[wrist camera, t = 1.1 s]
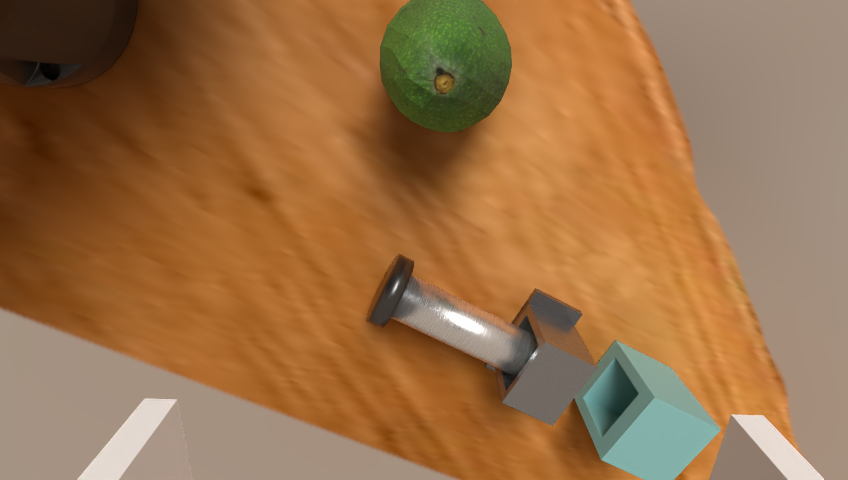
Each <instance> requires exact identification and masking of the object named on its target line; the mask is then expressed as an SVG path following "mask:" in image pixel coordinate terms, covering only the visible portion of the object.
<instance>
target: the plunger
mask: <svg viewBox="0 0 848 480" xmlns="http://www.w3.org/2000/svg"><path fill="white" fill-rule="evenodd" d="M413 267H414V261H413V260H411V259H409V258H407V257H405V256H403V255H400V254H398V255H397V256H396V258H395V259H394V260H393V262H392V264H391V265H390V267H389V269H388V270H387V272H386V274H385V276H384V278H383V280H382V282H381V284H380V286H379V288H378V290H377V292H376V294H375V297H374V299H373V301H372V304H371V306H370V309H369V311H368V314H367V318H366V321H367V322H369V323H371V324H373V325H375V326H377V327H379V328H383V327H384V326H385V325H386V324H387V322H388V321H389V320H390V318H392V319H394V320H397V321H399V322H401V323H403V324H405V325H407V326H409V327H411V328H413V329H416V330H418V331H420V332H422V333H424V334H426V335H428V336H430V337H433V338H435V339H437V340H439V341H441V342H443V343H445V344H447V345H450V346H452V347H454V348H456V349H458V350H460V351H462V352H464V353H466V354H469V355H471V356H473V357H475V358H477V359H479V360H481V361H483V362H486V363H488V364H490V365H492V366H494V367H496V368H498V369H500V370H503V371H505V372H507V373H509V374H511V375H513V376H515V377H517V375H518V374H519V373H520V371H521V370H522V368H523V367H524V366H525V364H526V363H527V361H528V360H529V359H530V357H531V356H532V354H533V353H534V352H535V350H536V349H537V347H538V346H539V345H538V342H537V340H536V337H535V335H534V334H532V333H530V332H528V331H526V330H523V329H521V328H519V327H517V326H515V325H513V324H511V323H509V322H507V321H505V320H503V319H501V318H499V317H497V316H495V315H493V314H491V313H489V312H487V311H485V310H483V309H481V308H479V307H477V306H475V305H472V304H470V303H468V302H466V301H464V300H462V299H460V298H458V297H456V296H454V295H452V294H450V293H448V292H446V291H444V290H442V289H440V288H438V287H436V286H434V285H432V284H430V283H428V282H426V281H424V280H421V279H419V278H417V277H415V276H413V275H411V274H412V271H413Z"/></svg>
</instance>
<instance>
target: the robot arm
mask: <svg viewBox="0 0 848 480" xmlns="http://www.w3.org/2000/svg"><path fill="white" fill-rule="evenodd" d="M136 12H137V0H0V83H1V84H6V85H10V86H17V87H23V88H59V87H69V86H74V85H78V84H82V83H85V82H87V81H89V80H92V79H94V78H95V77H97V76H99V75H100V74H102V73H103V72H105V71H106V70H107V69H108V68H109V67H110V66H111V65H112V64H113V63H114V62H115V61H116V60H117V59H118V57H119V56H120V55H121V53H122V52H123V50H124V49H125V47H126V45H127V43H128V41H129V38H130V36H131V33H132V30H133V27H134V23H135V18H136ZM77 480H193V475H192V470H191V465H190V460H189V455H188V450H187V445H186V440H185V435H184V430H183V425H182V420H181V415H180V410H179V406H178V400H176V399H144V400H143V401H142V403H141V404H140V405H139V406H138V407H137V408H136V410H135V411H134V412H133V413H132V414H131V416H130V417H129V418H128V419H127V420H126V422H125V423H124V424H123V425H122V426H121V428H120V429H119V430H118V431H117V432H116V434H115V435H114V436H113V437H112V438H111V440H110V441H109V442H108V443H107V445H106V446H105V447H104V448H103V449H102V450H101V452H100V453H99V454H98V456H97V457H96V458H95V459H94V460H93V461H92V462H91V464H90V465H89V466H88V467H87V468H86V470H85V471H84V472H83V473H82V474H81V476H80V477H79V478H78V479H77ZM709 480H824V479H823V477H822V476H821V475H820V474H819V473H818V472H817V471H816V470H815V469H814V468H813V467H812V466H811V465H810V464H809V463H808V462H807V461H806V460H805V459H804V458H803V457H802V455H801V454H800V453H799V452H798V451H797V450H796V449H795V448H794V447H793V446H792V445H791V444H790V443H789V442H788V441H787V440H786V439H785V438H784V437H783V436H782V435H781V433H780V432H779V431H778V430H777V429H776V428H775V427H774V426H773V425H772V424H771V423H770V422H769V421H768V420H767V419H766V418H765V417H764V416H763V415H731V417H730V420H729V423H728V426H727V429H726V432H725V435H724V438H723V441H722V443H721V446H720V449H719V452H718V455H717V458H716V461H715V464H714V467H713V470H712V473H711V476H710V478H709Z"/></svg>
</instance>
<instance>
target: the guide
mask: <svg viewBox="0 0 848 480" xmlns="http://www.w3.org/2000/svg"><path fill="white" fill-rule="evenodd" d="M581 316H582V313H581V311H579V310H577V309H575V308H573V307H571V306H569V305H568V304H566V303H564V302H562V301H560V300H558V299H556V298H554V297H552V296H550V295H548V294H546V293H544V292H542V291H540V290H538V289H536V288H535V290H534V291H533V293H532V294H531V296H530V297H529V299H528V300H527V302H526V303H525V305H524V306H523V307H522V309H521V310H520V312H519V313H518V315H517V316H516V318H515V319H514V321H513V322H512V324H513V325H515V326H517V327H519V328H521V329H523V330H526V331H528V332H530V333H532V334H534V335H535V337H536V340H537V342H538V345H539V346H538V347H537V349H536V350H535V352H534V353H533V354H532V356H531V357H530V359H529V360H528V361H527V363H526V364H525V366H524V367H523V368H522V370H521V371H520V373H519V374H518V375H517V377H515V376H513V375H511V374H509V373H507V372H505V371H503V370H500V369H498V368H496V367H494V366H492V365H490V364H488V363H486V362H485V367H487V368H489V369H491V370H493V371H495V372H496V376H497V381H498V386H499V391H500V396H501V401H502V403H504V404H506V405H508V406H510V407H512V408H515V409H517V410H519V411H521V412H523V413H525V414H528V415H530V416H532V417H534V418H536V419H538V420H541V421H543V422H545V423H547V424H549V425H552V426H553V424H554V423H555V422H556V421H557V419H558V418H559V417H560V416H561V414H562V413H563V412H564V410H565V409H566V408H567V407H568V405H569V404H570V403H571V402H572V400H573V399H574V398H575V396H576V395H577V394H578V393H579V391H580V390H581V389H582V388H583V386H584V385H585V384H586V382H587V381H588V380H589V379H590V377H591V376H592V375H593V374H594V372H595V371H596V370H597V368H598V367H597V365H596V363H595V362H594V360H593V358H592V356H591V354H590V353H589V351H588V349H587V347H586V345H585V344H584V342H583V340H582V338H581V336H580V335H579V333H578V331H577V329H576V328H575V326H574V325H575V324H576V323H577V321H578V320H579V318H580V317H581Z"/></svg>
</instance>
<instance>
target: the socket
mask: <svg viewBox="0 0 848 480" xmlns="http://www.w3.org/2000/svg"><path fill="white" fill-rule="evenodd" d="M596 365H597V367H598V368H597V370H596V371H595V372H594V374H593V375H592V376H591V377H590V379H589V380H588V381H587V382H586V384H585V385H584V386H583V388H582V389H581V390H580V391H579V393H578V394H577V395H576V396H575V398H574V399H575V401H576V403H577V406H578V408H579V410H580V413H581V415H582V417H583V420H584V422H585V424H586V427H587V429H588V431H589V433H590V436H591V438H592V440H593V443H594V445H595V447H596V450H597V452H598V454H599V457H600V459H601V460H602V461H604V462H606V463H609V464H611V465H613V466H615V467H617V468H620V469H622V470H624V471H626V472H628V473H631V474H633V475H635V476H637V477H639V478H642V479H644V480H674V479H675V478H676V477H677V476H678V475H679V474H680V473H681V471H682V470H683V469H684V468H685V467H686V466H687V465H688V464H689V463H690V462H691V461H692V460H693V459H694V458H695V457H696V456H697V455H698V454H699V453H700V451H701V450H702V449H703V448H704V447H705V446H706V445H707V444H708V443H709V442H710V441H711V440H712V439H713V438H714V437H715V436H716V435H717V434H718V432H719V431H720V430H721V429H720V428H719V427H718V425H717V424H716V423H715V422H714V420H713V419H712V418H711V417H710V415H709V414H708V413H707V412H706V410H705V409H704V408H703V407H702V405H701V404H700V403H699V402H698V401H697V399H696V398H695V397H694V396H693V394H692V393H691V392H690V391H689V389H688V388H687V387H686V386H685V384H684V383H683V382H682V381H681V379H680V378H679V377H678V376H677V375H676V373H675V372H674V371H673V370H672V368H670V367H668V366H666V365H664V364H662V363H660V362H658V361H656V360H655V359H653V358H651V357H649V356H647V355H645V354H643V353H641V352H639V351H637V350H635V349H633V348H631V347H629V346H627V345H625V344H623V343H621V342H619V341H617V340H615V341H614V343H613V344H612V345H611V346H610V348H609V349H608V350H607V352H606V353H605V354H604V355H603V357H602V358H601V359H600V361H599V362H598V363H597V364H596Z"/></svg>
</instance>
